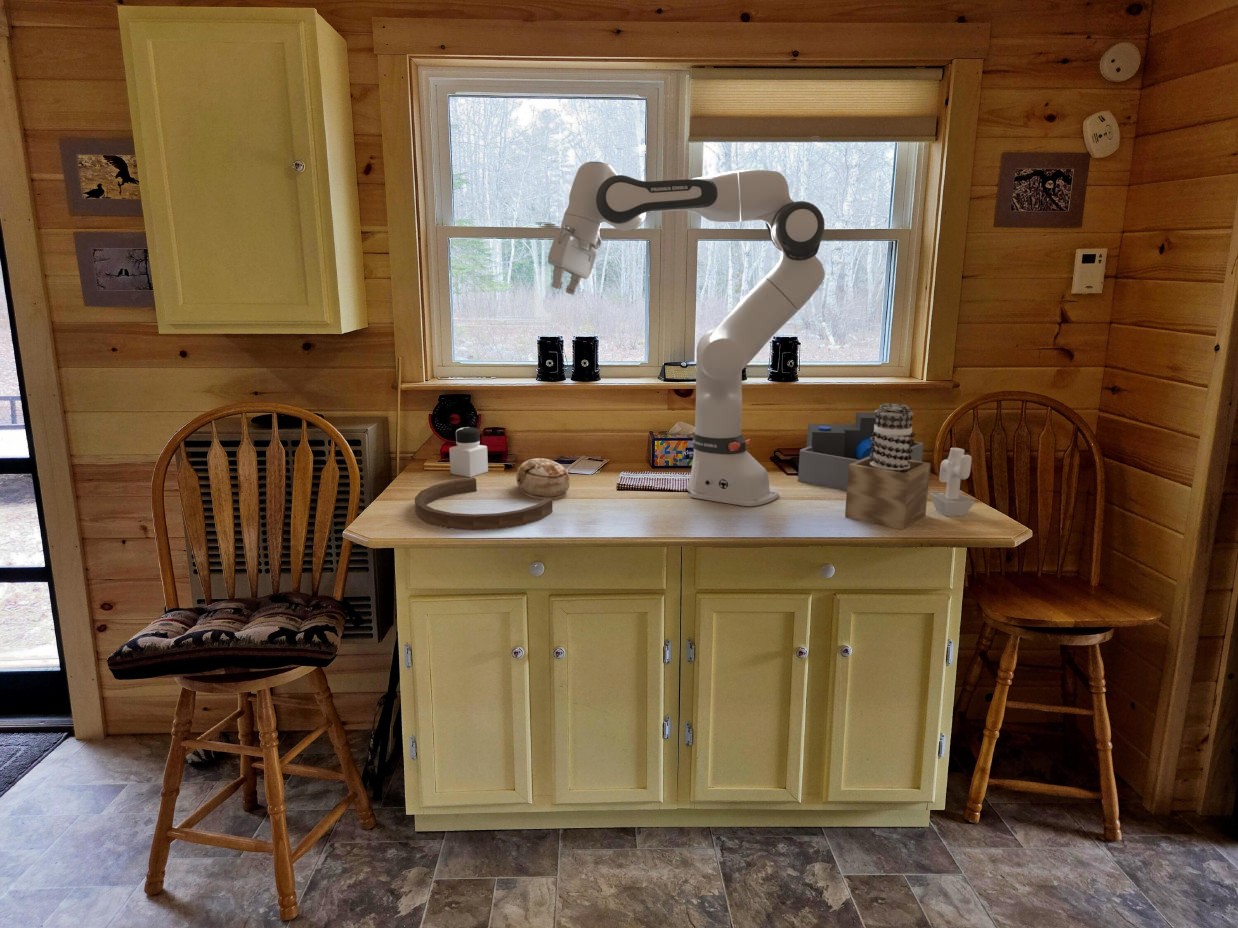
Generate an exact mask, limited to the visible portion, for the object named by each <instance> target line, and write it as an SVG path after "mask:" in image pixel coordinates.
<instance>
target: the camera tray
mask: <svg viewBox="0 0 1238 928" xmlns="http://www.w3.org/2000/svg"><path fill="white" fill-rule="evenodd" d="M909 448H911V449H912V450H913V452H912V453H910V454H909V453H908V455H910V456H911V457H912V459H911V460H914V461H920V462H923V452H924V451H923V450H924V442H918V441H914V443H913V444H911V445H910V444H909ZM856 461H859V460H856V459H851V458H845V457H839V456H833V455H828V454H822V453H816V452H813V447H811V446H809V447H807V446H806V447H804V448H801V449H799V458H798V477H797V482H801V483H806V484H810V485H815V486H822V487H826V488H830V489H834V490H835V489H836V490H839V491H840V490H841V491H846V492H847V483H848V470H849V464H851V463H854V462H856Z"/></svg>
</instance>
